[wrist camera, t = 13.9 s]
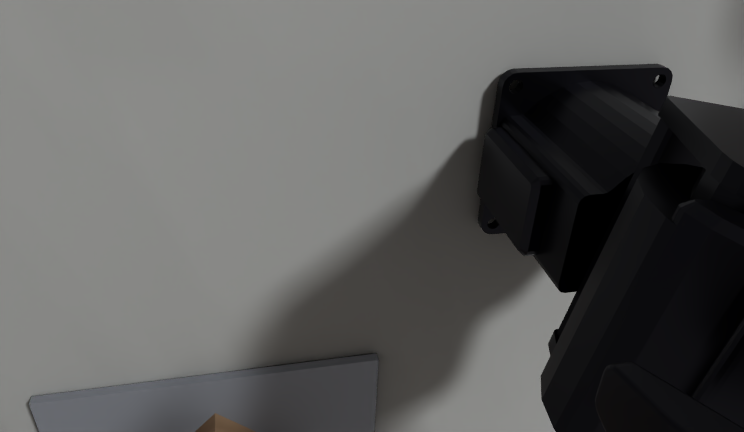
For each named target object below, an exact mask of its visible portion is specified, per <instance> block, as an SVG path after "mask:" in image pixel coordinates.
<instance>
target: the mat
mask: <svg viewBox="0 0 744 432" xmlns="http://www.w3.org/2000/svg"><path fill="white" fill-rule="evenodd" d="M377 378H378V356H377V353H376V354H368V355H360V356H352V357H344V358H336V359H327V360H319V361H311V362H303V363H295V364H287V365H279V366H271V367H263V368H255V369H247V370H239V371H231V372H223V373H215V374H207V375H199V376H191V377H183V378H175V379H167V380H159V381H151V382H143V383H135V384H127V385H119V386H111V387H103V388H95V389H87V390H79V391H71V392H63V393H55V394H47V395H39V396H31V399H30V402H29V406H30V409H31V411H32V414H33V417H34V419H35V422H36V425H37V427H38V430H39V432H195V431H196V430H197V429H198V428H199V427H200V426H202V425H203V424H204V423H205V422H206V421H207V420H208V419H209V418H210V417H211V416H212V415H214V414H215V413H216V414H218V415H221V416H223V417H225V418H227V419H229V420H232V421H234V422H236V423H238V424H240V425H243V426H245V427H247V428H249V429H251V430H253V431H256V432H375V414H376V396H377Z"/></svg>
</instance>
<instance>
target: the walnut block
mask: <svg viewBox="0 0 744 432" xmlns="http://www.w3.org/2000/svg"><path fill="white" fill-rule="evenodd" d="M195 432H256V431H253V430H251V429H249V428H247V427H245V426H243V425H240V424H238V423H236V422H234V421H232V420H229V419H227V418H225V417H223V416H221V415H218V414H216V413H215V414H214V415H212V416H211V417H210V418H209V419H208V420H207V421H206V422H205V423H204V424H203V425H202V426H200V427H199V428H198V429H197V430H196V431H195Z"/></svg>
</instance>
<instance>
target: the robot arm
mask: <svg viewBox="0 0 744 432" xmlns="http://www.w3.org/2000/svg"><path fill="white" fill-rule="evenodd" d="M658 75H659V79H658V81H656V82H655V83H654V84H653V81H654V79H655V77H656V76H658ZM672 76H673V75H672V72H671V71H670V70H669V69H668V68H666V67H665V66H663V65H660V64H639V65H610V66H580V67H551V68H521V69H511V70H508V71H506V72H505V73H503V75H502V76H501V77H500V79H499V82H498V87H497V94H496V101H495V107H494V114H493V121H492V127H491V128H490V129H489V130H488V132H487V133H486V134H485V139H484V146H483V153H482V160H481V167H480V174H479V181H478V188H477V194H478V195H479V197H480V198H481V201H480V208H479V215H478V223H479V225H480V227H481V228H482V230H483V231H484V232H485V233H487V234H499V233H506V234H507V236H508V237H509V239H510V240H511V241H512V243H513V244H514V246H515V247H516V248H517V250H518V251H519V252H520V253H521V254H523V255H524V256H529V255H533V256H534V257H535V259H536V260H537V261H538V263H539V264H540V265H541V267H542V268H543V269H544V271H545V272H546V273H547V275H548V276H549V278H550V279H551V280H552V282H553V283H554V284H555V286H556V287H557V288H558V290H559V291H560V292H564V293H567V292H576V291H577V292H576V294H575V296H574V298H573V300H572V303H571V305H570V307H569V309H568V311H567V313H566V315H565V317H564V319H563V321H562V323H561V325H560V327H559V329H556V330H555V331H554V332H553V335H552V337H551V339H550V341H549V343H548V346H549V351H550V358H549V360H548V362H547V364H546V366H545V368H544V370H543V372H542V374H541V396H542V402H543V404H544V406H545V409H546V411H547V413H548V416H549V418H550V421H551V423H552V425H553V428H554V429H555V431H556V432H744V109H742V108H736V107H730V106H725V105H719V104H713V103H708V102H702V101H696V100H691V99H685V98H679V97H674V96H667V95H668V92H669V88H670V85H671V82H672ZM517 79H518V82H519V83H518V85H517V87H516V88H515V89H512V90H509V86H510V84H511V83H512V82H513V81H514V80H517ZM492 218H495V221H493V222H492V223H488V221H489V220H490V219H492Z"/></svg>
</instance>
